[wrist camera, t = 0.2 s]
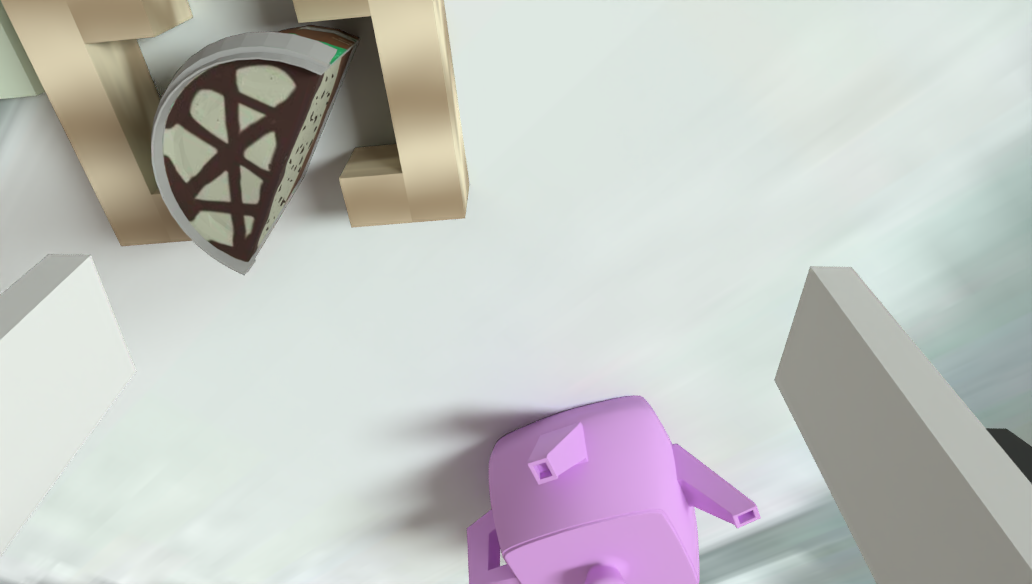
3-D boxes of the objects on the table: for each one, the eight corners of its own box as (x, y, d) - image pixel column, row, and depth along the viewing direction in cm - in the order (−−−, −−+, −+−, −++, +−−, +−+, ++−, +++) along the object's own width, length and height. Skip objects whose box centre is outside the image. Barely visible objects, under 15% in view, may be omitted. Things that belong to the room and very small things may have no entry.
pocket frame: (49, -33, 34) (-9, -19, 30) (433, -72, 33) (423, -63, 29) (156, 210, 41) (121, 246, 38) (469, 184, 40) (465, 218, 37)
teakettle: (462, 498, 57) (451, 639, 47) (530, 357, 48) (535, 493, 38) (637, 538, 61) (662, 678, 50) (731, 413, 52) (785, 552, 41)
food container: (257, -50, 33) (172, -18, 25) (370, 12, 35) (326, 62, 27) (197, 151, 39) (112, 231, 31) (296, 196, 41) (241, 283, 33)
